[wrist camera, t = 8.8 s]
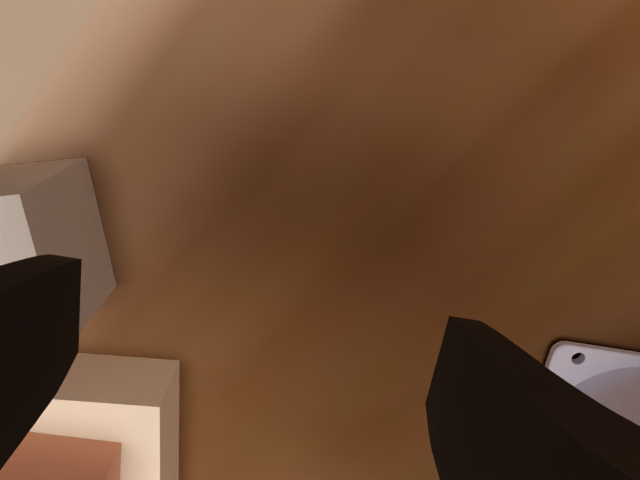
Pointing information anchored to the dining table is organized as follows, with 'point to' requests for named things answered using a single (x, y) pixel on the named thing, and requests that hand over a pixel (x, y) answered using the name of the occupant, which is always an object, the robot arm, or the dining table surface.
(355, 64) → the dining table surface
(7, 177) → the grey cube
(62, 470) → the terracotta cube
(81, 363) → the cream block
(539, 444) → the robot arm
